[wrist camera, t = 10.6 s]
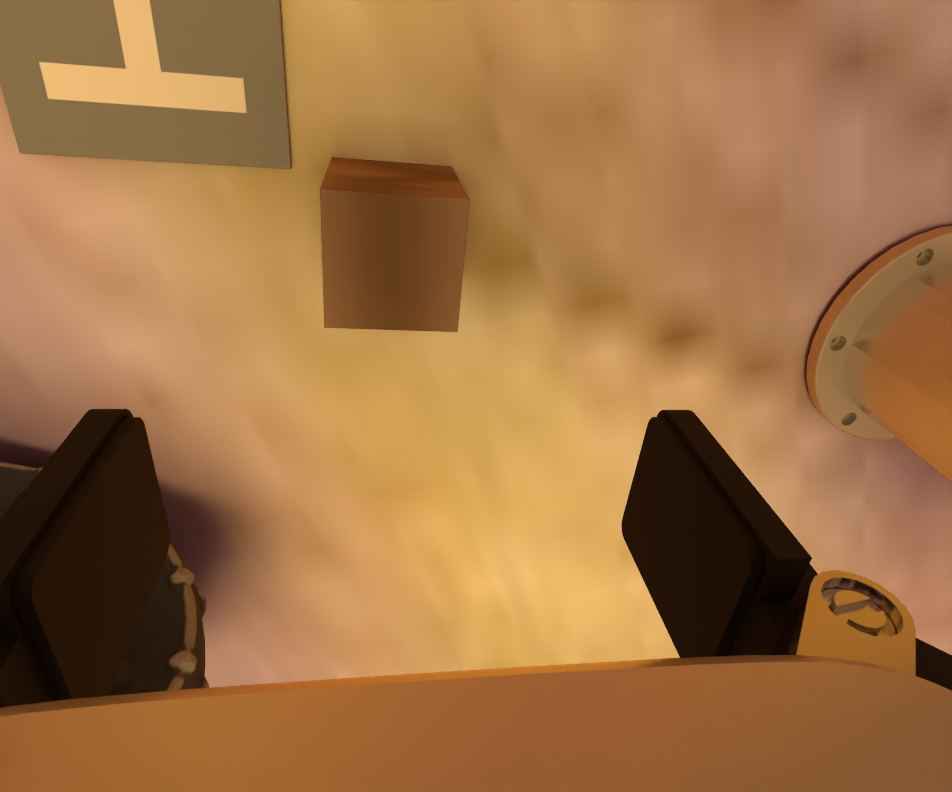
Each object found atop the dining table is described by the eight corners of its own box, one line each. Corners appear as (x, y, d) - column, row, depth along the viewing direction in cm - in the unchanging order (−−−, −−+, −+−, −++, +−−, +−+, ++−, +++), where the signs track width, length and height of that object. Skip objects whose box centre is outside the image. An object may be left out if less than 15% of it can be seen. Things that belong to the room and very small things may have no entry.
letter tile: (269, -150, 20) (268, -153, 20) (291, 167, 25) (290, 169, 25) (-73, -198, 18) (-81, -202, 18) (24, 152, 23) (19, 153, 23)
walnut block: (451, 166, 26) (469, 199, 21) (443, 277, 28) (457, 331, 23) (332, 156, 25) (320, 189, 20) (334, 272, 28) (324, 327, 23)
